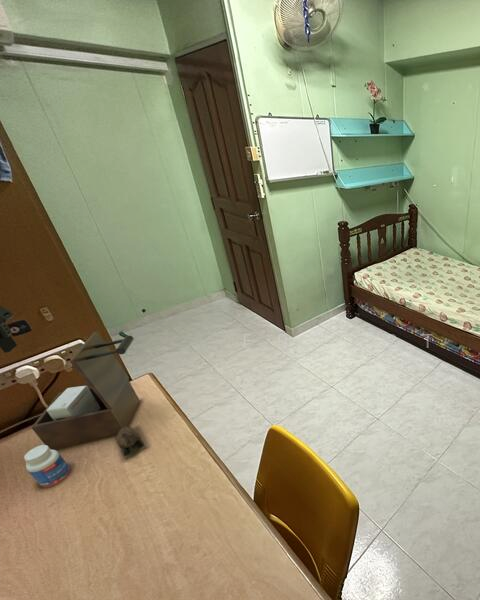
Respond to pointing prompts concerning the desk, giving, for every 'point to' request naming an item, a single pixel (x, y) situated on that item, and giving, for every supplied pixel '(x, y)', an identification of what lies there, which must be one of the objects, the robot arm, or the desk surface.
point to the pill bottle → (46, 465)
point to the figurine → (130, 441)
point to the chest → (88, 422)
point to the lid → (102, 367)
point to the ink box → (73, 403)
